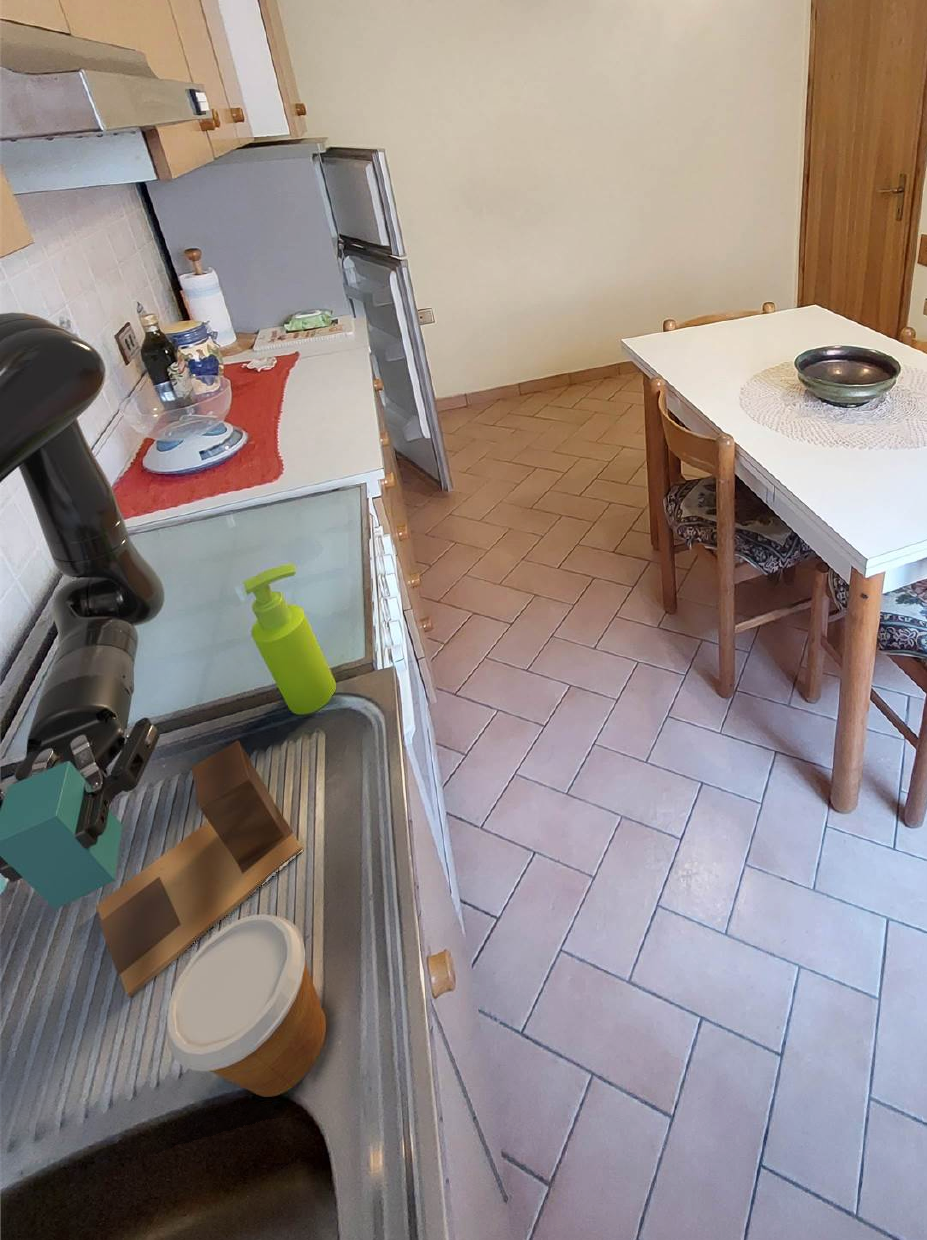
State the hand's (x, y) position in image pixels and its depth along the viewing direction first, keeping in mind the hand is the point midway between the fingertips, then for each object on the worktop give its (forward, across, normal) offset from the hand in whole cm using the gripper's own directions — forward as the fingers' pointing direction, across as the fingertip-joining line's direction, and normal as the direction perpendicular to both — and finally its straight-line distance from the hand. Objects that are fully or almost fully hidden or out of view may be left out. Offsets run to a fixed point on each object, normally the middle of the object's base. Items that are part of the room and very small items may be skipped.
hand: (49, 856), depth 56 cm
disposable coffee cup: (+14, +12, +17) cm, 25 cm away
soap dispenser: (-23, +18, +17) cm, 34 cm away
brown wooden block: (-6, +10, +16) cm, 20 cm away
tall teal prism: (-3, 0, +6) cm, 7 cm away
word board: (-5, +5, +17) cm, 18 cm away
